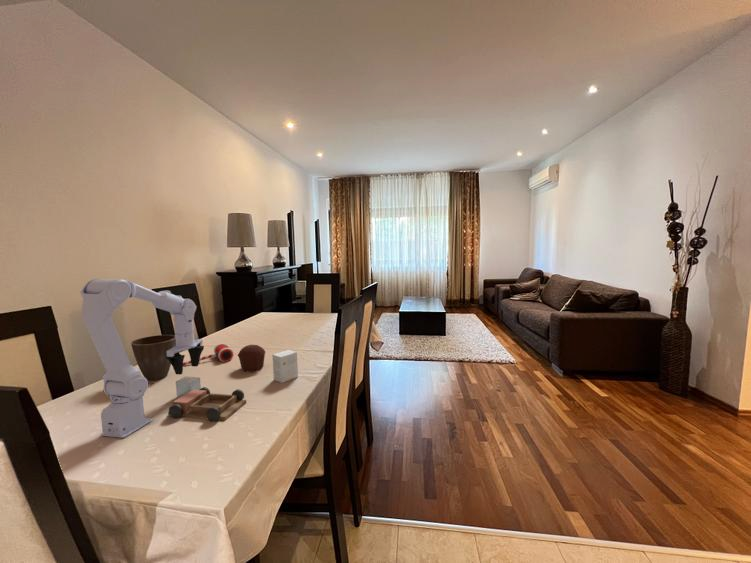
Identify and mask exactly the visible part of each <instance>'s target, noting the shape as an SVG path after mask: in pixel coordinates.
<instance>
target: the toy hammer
mask: <svg viewBox="0 0 751 563" xmlns="http://www.w3.org/2000/svg"><path fill="white" fill-rule="evenodd" d="M215 357H218V359H219V361H221V362H223V361H225V362H229V361H228V360H230V361H231V360H232V359H233V358H234V351H233V350H232V349H231V348H229V346H228V345H227V344H226V343H221V342H220V343H218V344H216V345H215V347H214V348H213V353H212V354H209V355H204V356H202V357H201V356H200V359H199V362H201V361H205V360H207V359H211V358H215ZM223 363H224V362H223ZM186 365H191V360H188V361H183V367H184V366H186Z"/></svg>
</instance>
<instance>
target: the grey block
mask: <svg viewBox="0 0 751 563" xmlns="http://www.w3.org/2000/svg"><path fill="white" fill-rule="evenodd" d="M175 388H176V389H175V390H176V398H177V399H178V398H180V397H182V396H183V395H185V394H187V393H189V392H190V391H192V390H199V389H201V388H202V387H201V377H200V376H184V377H182V378H180V379H179V380H176V381H175Z"/></svg>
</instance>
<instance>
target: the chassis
mask: <svg viewBox="0 0 751 563" xmlns="http://www.w3.org/2000/svg"><path fill="white" fill-rule="evenodd" d="M244 398H245V392H244V391H243V390H241V389H240V388H239V389H235V390H234V391H232V393H231V394H223V393H212V392H211V391H210V389H209V387H205V386H203V387H201V389H199V390H192V391H190V392H189V393H187V394H185V395H183V396H182V397H180V398H177V399H175V400H174V401H172V405H171V406H170V407H169V408H168V414H167V415H168V416H169V417H171V418H172V419H178V418H180V417H183V418H184V417H185V418H195V417H196V418H198V419H207V418H208V419H207V420H208V421H210V422H216V421H218V420H221V421H226V420H228V419H229V418H230V417H231V416H232V415H234V414H235V413H236V412H237V411H239V410H240V409H241V408H242V407H244V406H245V405H246V404H247V399H244Z"/></svg>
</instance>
